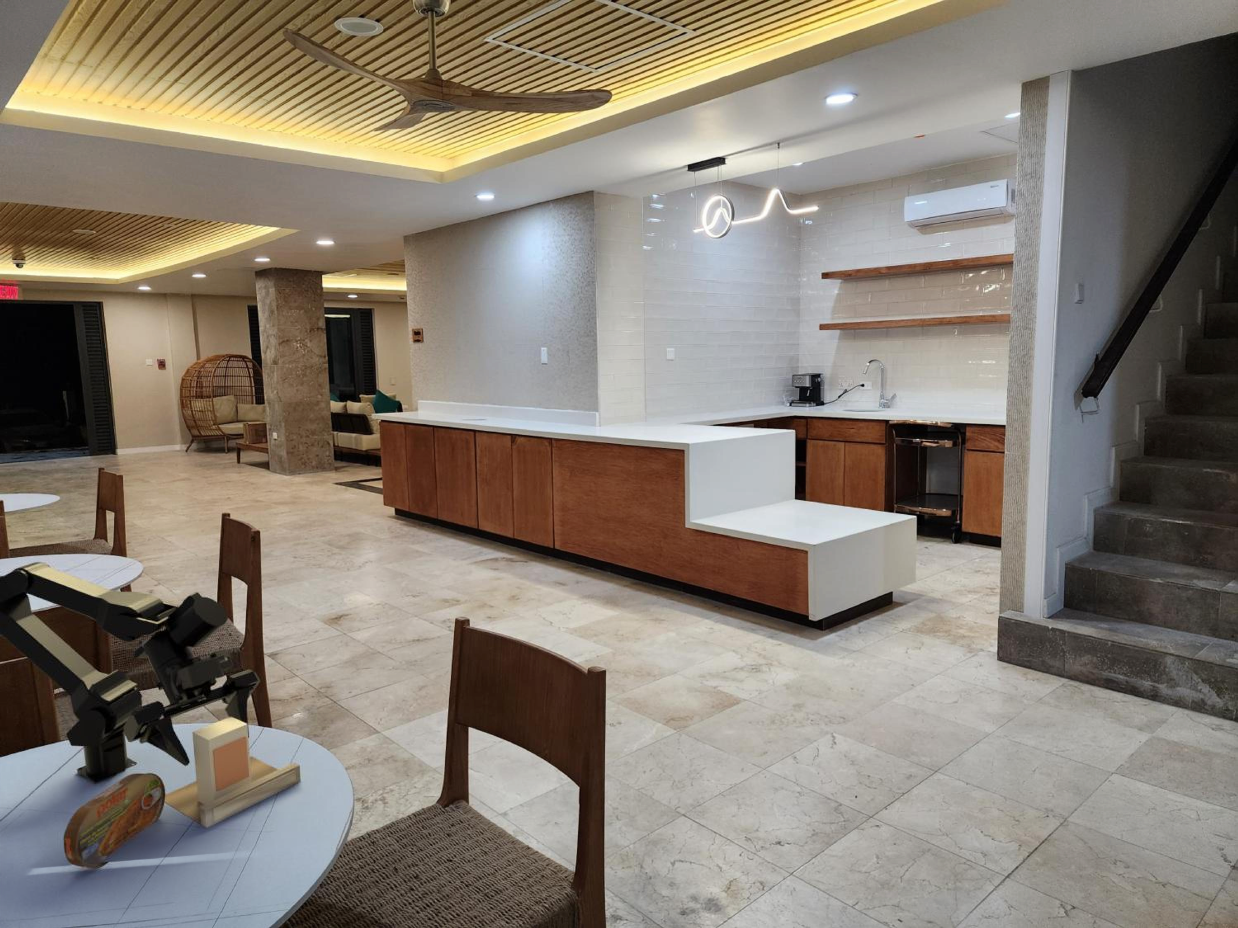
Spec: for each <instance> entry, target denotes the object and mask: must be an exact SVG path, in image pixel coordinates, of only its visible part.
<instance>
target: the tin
mask: <svg viewBox="0 0 1238 928" xmlns="http://www.w3.org/2000/svg"><path fill="white" fill-rule="evenodd" d="M165 795H166V788H165V784H164V782H163V779H162V778H161V777H160V776H159V775H158V774H156V773H152V772H147V773H139V772H138V773H132V774H129V775H127V776H125V777H123V778H122V779H120V780H119V781H117V782H116V783H114V784H113V785H111V786H110V787H108V788H107V789H106V790H104V791H102V792H101V793H99V794H98V795H96V796H94V798H92V799H91V800H89V801H88V802H86V803H84V804H83V805H82V806H80V807H79V808H78V809H77V811H75V812H74V814H73V815H72V816H71V818H70V820H69V822H68V823H67V825H66V827H65V829H64V833H63V850H64V854H65V858H66V860H67V861H68V863H70V864H71V865H74V866H75V867H81V868H82V867H83V868H88V869H98V868H99V869H100V868H101V867H103V866H105V865H107V864H108V863H109V861H104V859H106V858H107V857H108V856H110V855H111V854H112V853H113V852H115V851H117V850H118V849H119V848H121V847H122V846H123V845H125V843H127V842H128V841H130V840H131V839H132V838H134V837H135V836H136V835H138V834H139V833H140V832H142V831H143V830H145V828H147V827H149V826H150V825H151V824H154V823H156V822H158V821H159V819H160V817H161V815H162V812H163V809H164V806H165ZM102 861H103V862H102Z"/></svg>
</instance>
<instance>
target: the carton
mask: <svg viewBox="0 0 1238 928" xmlns="http://www.w3.org/2000/svg"><path fill="white" fill-rule="evenodd" d="M248 728H249V724H248V725H247V724H246V723H244V722H242V721H240V720H237V719H235V718H233V717H229V716H228V717H227V718H223V719H221V720H219V721H217V722H214V723H211V724H209V725H207V726H205V727H201V728H199V729H197V730H194V731H192V741H193V753H194V767H195V778H196V781H197V793H198V801H199V802H201V803H203V804H204V805H206V804H208V803H210V802H212V801H214V800H216V799H218V798H220V797H222V796H224V795H227V794H229V793H231V792H233V791H235V790H237V789H239V788H241V787H243V786H245V785H248V784H250V783H252V779H251V766H250V757H251V755H250V752H251V751H250V742H249V741H250V740H249V739H250V737H249V738H248Z"/></svg>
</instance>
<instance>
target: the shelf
mask: <svg viewBox="0 0 1238 928" xmlns="http://www.w3.org/2000/svg"><path fill="white" fill-rule="evenodd" d="M250 766H251V779H252V783H250V784H248V785H245V786H243V787H241V788H239V789H237V790H235V791H233V792H231V793H229V794H227V795H224V796H222V797H220V798H218V799H216V800H214V801H212V802H210V803H208V804H206V805H204V804H203V803H201V802H199V801H198V793H197V781H194V782H191V783H189V784H186V785H184V786H182V787H180V788H178V789H175V790H174V791H172V792H168V793H165V802H164V804H167V805H169V806H170V807H171V808H173V809H175V810H177V811H178V812H180V813H182V814H183V815H185V816H186V817H188V818H190V819H192V821H195V822H196V823H197V824H199V825H201V826H203V827H205V828H206V829H207V828H209V827H212V826H214V825H215V824H217V823H220V822H222V821H224V820H225V819H226V820H227V819H228V818H229V817H231V816H234V815H236V814H238V813H240V812H241V811H244V810H245V809H248V808H250V807H252V806H253V805H256V804H258V803H260V802H261V801H263V800H265V799H268V798H269V797H272V796H274V795H275V794H277V793H280V792H282V791H283V790H285V789H287V788H290V787H291V786H294V785H295V784H297V783H300V782H301V768H300V767H301V766H300V764H298V763H296V762H292V763H290V764H287V765H285V766H283V767H281V768H279V769H278V768H276V767H274V766H272V765H270V764H268V763H266V762H264V761H261V760H259V759H257V758H256V757H254V756H251V755H250Z"/></svg>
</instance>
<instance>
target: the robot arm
mask: <svg viewBox="0 0 1238 928" xmlns="http://www.w3.org/2000/svg"><path fill="white" fill-rule="evenodd" d="M29 595H31V596H33V597H36V598H38V599H41V600H43V601H46V602H49V603H52V604H54V605H57V606H59V607H63V608H65V609H67V610H70V611H73V612H75V613H77V614H81V615H83V616H86V617H89V618H91V619H92V620H94V621H96V623H97V624H98V626H99V627H100V629H101V630H102V631H103V632H105V633H107V634H109V635H111V636H112V637H114V638H116V639H117V640H119V641H121V642H126V643H127V642H128V643H129V642H130V643H131V642H133V641H136V640H138V639H141V638H142V637H143V636H149V635H151V634H152V635H151V636H149V637H148V639H145V640H142V639H141V640H139V641H138V645H137V647H136V649H135V650H134V653H133V659H143V658H147V659H148V661H149V663H150V665H151V667H152V669H153V671H154V673H155V676H156V678H157V680H158V682H157V684H156V687H157V688H158V691H161V690H162V691H163V692H164V694H165V696H166V698H167V700H168V702H169V704H168V705H166V706H165V705H164V704H163V702H161V701H159V700H156V701H153V702H150V703H148V704H145V705H143V700H142V699H143V695H142V693H141V691H140V690H139V689H138V688H137V687H138V683H136V682H133V681H132V680H131V679H129V678H128V677H127V676H126V674H125V673H124V672H123V671H121V670H119V669H116V670H114V671H112V672H111V673H109V674H108V673H104V672H100V671H98V670H97V669H96V668H95V667H94V666H92V665H91V664H90V662H88V661H86V659H85V658H83V657H82V656H81V655H80V654H79V653H78V652H76V651H75V650H74V649H73V648H72V647H71V645H69V644H68V643H66V642H65V641H64V639H62V638H61V637H60V636H59V635H58V634H57V633H55V632H54V631H53V630H52V629H51V628H50V627H49V626H48V625H46V624H45V623H44V622H43V621H42V620H41V619H39V618H38V617H37V615H35V614H34V613H33V612H32V607H31V602H30V598H29ZM227 621H228V614H227V611H226V609H225V608H224V606H223V604H221V602H217V601H216V600H215V599H212V598H210V597H206V596H202V594H200V593H199V592H198V591H196V592H194V593H192V594H191V593H190V595H188V596H187V597H185V599H184V600H182V603H181V604H180V605H178V604H173V603H171V602H165V601H163V600H162V599H161V598H159V597H158V596H156V595H153V594H147V593H143V592H137V591H116V590H112V589H110V588H109V589H108V588H106V587H103V586H101V585H98V584H95V583H92V582H91V581H87V580H84V579H83V578H80V577H77V576H74V575H71V574H69V573H66V572H63V571H62V570H61V571H60V570H59V569H55V568H53V567H51V566H50V565H49V564H47V563H46V562H41V561H35V562H31V563H29V564H25V565H23V566H19V567H17V568H14V569H12V571H10V572H8V573H7V574H4V575H0V636H1V637H2V638H4V639H5V640H7V641H8V642H9V643H10V644H11V645H12V646H13V647H14V648H16V649H17V650H18V651H19V652H20V653H21V654H23V655H24V657H26V658H27V659H28V660H29V661H31V662H32V663H33V664H34V665H35V666H36V668H38V669H39V670H41V671H42V672H43V673H44V674H45V675H46V676H47V677H48V678H49V679H51V680H52V681H53V682H54V683H55V684H56V685H57V686H59V688H61V689H62V690H63V691H64V692H65V693H66V694H68V696H69V698H70V701H71V702H70V703H71V707H72V713H73V714H74V716H75V717H76V718H77V719H78V721H77V722H76V723H75V724H73V726H72V727H71V728H70V730H68V731H67V732H66V738H67V740H68V742H69V744H70V745H71V747H83V755H84V764H85V765H83V766H81V767H78V768H77V769H76V772H77V774H79V775H80V776H82V777H84V778H85V779H86V780H88V781H90V782H92V783H93V784H97V783H100V782H103V781H105V780H107V779H110V778H112V777H115V776H116V775H117V774H118V773H120V772H123V771H125V770H126V769H129V768H131V767H134V766H136V765H138V764H137V762H136V761H135V760H133V759H131V758H129V757H128V753H127V751H128V750H127V743H126V742H128V743H132V742H133V743H134V742H135V741H139V744H142V745H143V744H145V743H148V744H149V745H151V746H153V747H155V748H157V749H158V750H161V751H162V752H164V753H166V754H167V755H168V756H170V757H172V758H173V759H174V760H175V761H178V763H180V764H182V765H183V766H185V767H186V766H189V764H190V763H191V762H190V761H191V760H190V759H189V758H190V757H189V756H188V753H187V751H186V749H185V748H184V745H183V744H182V742H181V740H180V739H179V737H178V735H177V733H176V732H175V729H174V726H173V720H172V719H173V718H176V717H177V716H180V715H183V714H185V713H188V712H192V711H194V710H196V709H199V708H202V707H205V706H208V705H210V704H212V703H216V702H219V701H221V702H222V703H223V704H226V707H225V708H224V711H225V712H226V714H227V716H228V718H229V717H233V718H235V719H237V720H240V721H242V722H244V723H246V724H247V725H248V726H249V719H248V717H249V716H248V700H249V698H250V696H252V694H253V692H254V691H255V690H256V688H257V687H258V685H259V684H260V683H261V679H260V678H259V676H258V674H257V672H255V671H254V670H252V669H246V670H243V671H239V672H237V673H235V674H232V675H229V676H228V677H227V679H226V680H225V682H223V684H222V686H219V687H217V688H214V689H212V687H214V686H215V685H216V683H217V682H218V681H217V679H220V678H223V677H225V673H224V671H227V670H229V669H231V668H233V661H232V657H231V655H230V654H229V653H228V650H227V649H226V648H223V649H219V650H216V651H214V652H211V653H210V654H209V659H206V660H203V658H201V657H200V656H197V657H196V656H195V655H194V652H193V651H192V648H198V647H200V646H202V645H203V644H204V643H206V641H208V639H210V638H211V637H212V636H213V635H214V634H215V633H216V632H217V631H219V629H221V628H222V627H223V626H224V625H226V623H227ZM164 627H165V629H163V628H164ZM161 629H163V630H161ZM248 738H249V739H250V730H249V727H248ZM126 740H127V741H126Z"/></svg>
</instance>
